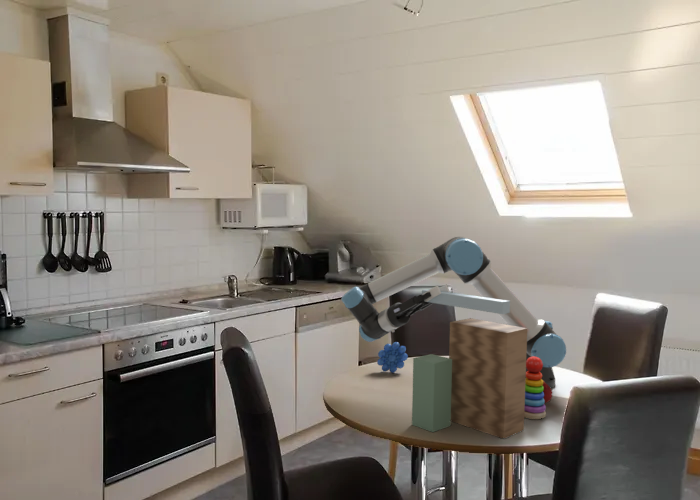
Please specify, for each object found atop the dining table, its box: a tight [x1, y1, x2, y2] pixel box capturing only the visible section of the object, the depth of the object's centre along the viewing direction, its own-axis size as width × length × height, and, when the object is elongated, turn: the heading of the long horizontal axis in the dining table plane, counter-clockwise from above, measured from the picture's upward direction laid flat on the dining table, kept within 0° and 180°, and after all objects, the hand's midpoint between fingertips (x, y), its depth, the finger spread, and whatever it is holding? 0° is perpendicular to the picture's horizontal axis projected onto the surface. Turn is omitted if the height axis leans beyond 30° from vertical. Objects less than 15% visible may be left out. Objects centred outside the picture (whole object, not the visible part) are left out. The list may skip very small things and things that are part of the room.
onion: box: [542, 381, 553, 404], centre depth 210 cm, size 6×6×8 cm
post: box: [411, 353, 452, 433], centre depth 189 cm, size 8×8×20 cm
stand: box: [448, 317, 527, 439], centre depth 189 cm, size 20×10×30 cm, turn 43°
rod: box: [421, 288, 510, 315], centre depth 194 cm, size 30×4×4 cm, turn 43°
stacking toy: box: [524, 356, 547, 420], centre depth 198 cm, size 8×8×19 cm
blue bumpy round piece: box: [376, 341, 409, 374], centre depth 247 cm, size 12×7×12 cm, turn 81°
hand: (443, 289), depth 199 cm, fingers closed on rod, 3 cm apart
